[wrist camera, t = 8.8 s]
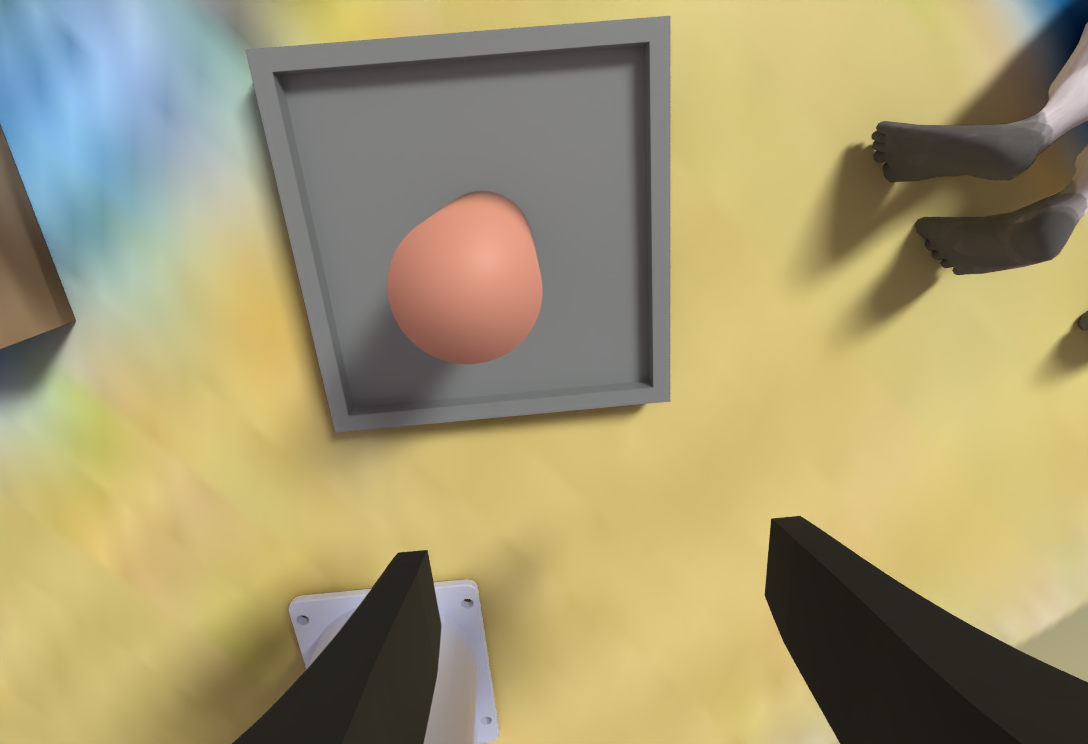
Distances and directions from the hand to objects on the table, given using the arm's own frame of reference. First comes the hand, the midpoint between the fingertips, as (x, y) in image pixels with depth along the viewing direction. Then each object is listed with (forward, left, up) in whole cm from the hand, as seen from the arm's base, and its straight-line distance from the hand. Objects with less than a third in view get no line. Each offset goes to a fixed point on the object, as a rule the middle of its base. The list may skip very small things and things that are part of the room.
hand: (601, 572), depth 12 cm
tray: (+6, +2, -10) cm, 12 cm away
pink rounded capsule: (+6, +2, -10) cm, 11 cm away
